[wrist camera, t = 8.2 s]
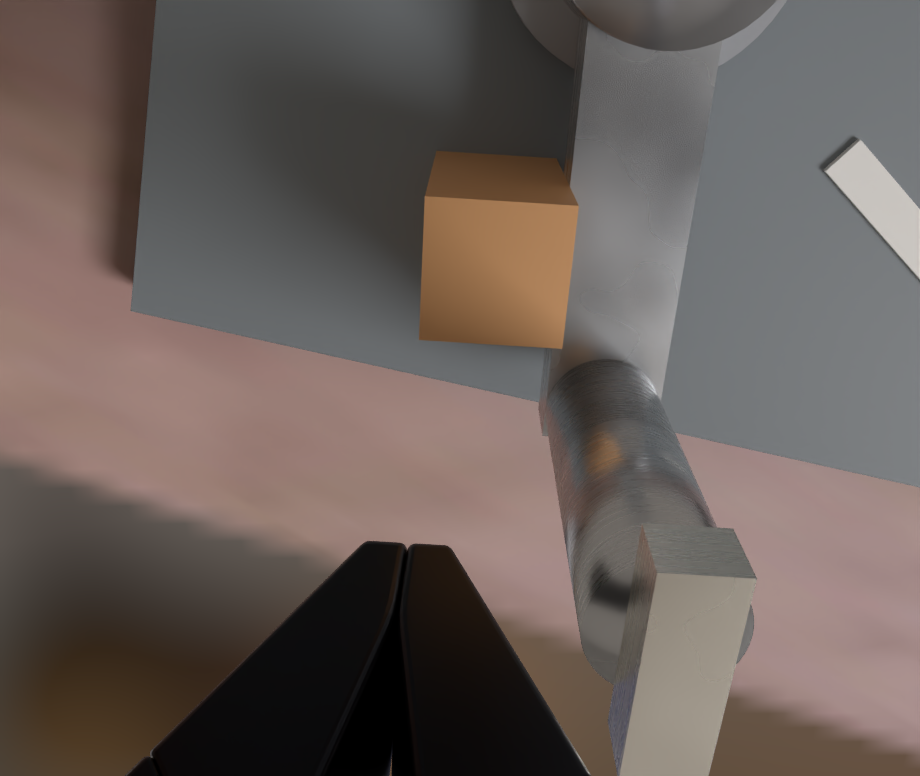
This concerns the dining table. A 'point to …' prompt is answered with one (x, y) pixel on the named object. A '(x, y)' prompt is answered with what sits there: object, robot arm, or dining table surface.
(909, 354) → the crank bed
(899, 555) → the dining table surface
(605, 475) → the crank
